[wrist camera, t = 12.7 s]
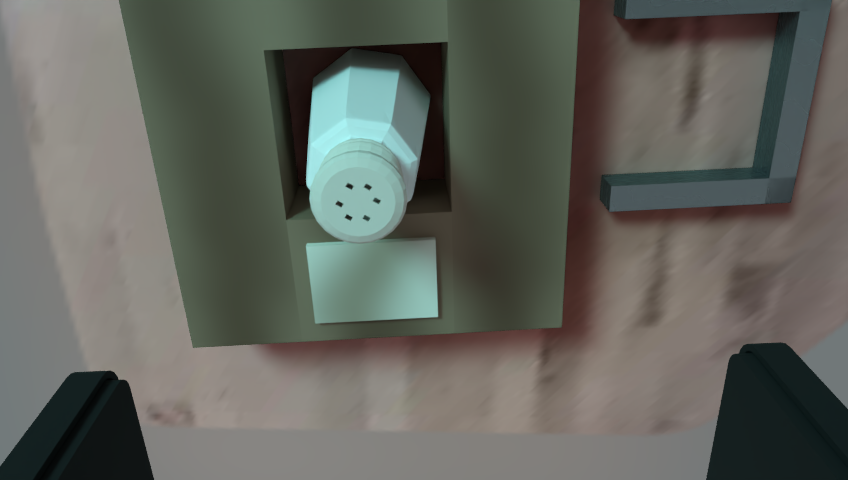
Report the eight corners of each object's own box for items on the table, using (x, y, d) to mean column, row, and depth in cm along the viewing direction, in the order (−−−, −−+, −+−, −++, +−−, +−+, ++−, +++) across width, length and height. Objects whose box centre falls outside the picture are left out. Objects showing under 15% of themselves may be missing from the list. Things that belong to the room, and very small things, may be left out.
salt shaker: (392, 190, 31) (392, 315, 21) (284, 131, 29) (229, 233, 19) (456, 88, 29) (490, 170, 19) (344, 19, 28) (317, 69, 18)
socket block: (560, -134, 26) (590, -146, 22) (542, 284, 33) (563, 330, 29) (135, -118, 25) (88, -127, 21) (215, 301, 33) (191, 351, 29)
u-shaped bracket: (814, -25, 28) (836, -23, 26) (773, 190, 32) (790, 202, 30) (616, -16, 27) (627, -14, 26) (599, 199, 31) (609, 211, 30)
